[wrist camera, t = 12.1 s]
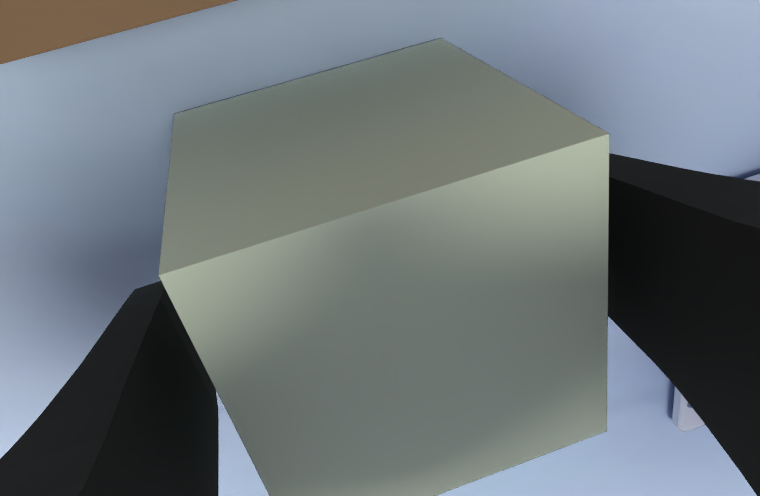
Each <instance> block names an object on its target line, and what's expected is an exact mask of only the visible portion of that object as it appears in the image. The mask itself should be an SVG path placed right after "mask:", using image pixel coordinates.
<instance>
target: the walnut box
mask: <svg viewBox="0 0 760 496" xmlns="http://www.w3.org/2000/svg"><path fill="white" fill-rule="evenodd" d="M233 1H237V0H0V64H3V63H7V62H11V61H14V60H18V59H22V58H25V57H29V56H33V55H37V54H40V53H44V52H48V51H51V50H55V49H59V48H62V47H66V46H70V45H74V44H77V43H81V42H85V41H88V40H92V39H96V38H99V37H103V36H107V35H111V34H114V33H118V32H122V31H125V30H129V29H133V28H137V27H140V26H144V25H148V24H151V23H155V22H159V21H162V20H166V19H170V18H174V17H177V16H181V15H185V14H188V13H192V12H196V11H199V10H203V9H207V8H211V7H214V6H218V5H222V4H225V3H229V2H233Z"/></svg>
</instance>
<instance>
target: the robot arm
mask: <svg viewBox="0 0 760 496" xmlns="http://www.w3.org/2000/svg"><path fill="white" fill-rule="evenodd" d="M608 316H609V317H610V318H611V319H612V320H613V321H614V322H615V323H616V324H617V325H618V326H619V327H620V329H621V330H622V331H623V332H624V333H625V334H626V335H627V336H628V337H629V338H630V339H631V340H632V341H633V342H634V343H635V344H636V345H637V346H638V347H639V348H640V349H641V350H642V351H643V352H644V353H645V354H646V355H647V356H648V357H649V358H650V359H651V360H652V361H653V362H654V363H655V364H656V365H657V366H658V367H659V368H660V369H661V371H662V372H663V373H664V374H665V375H666V376H667V377H668V378H669V379H670V381H671V382H672V383H673V384H674V385H675V394H674V404H673V415H672V421H673V423H674V424H675V425H676V427H677V428H678V429H679V430H681V431H689V430H692V429H695V428H698V427H700V426H703V425H706V426H707V427H708V429H709V430H710V431H711V433H712V434H713V435H714V437H715V438H716V439H717V441H718V442H719V443H720V445H721V446H722V447H723V449H724V450H725V451H726V453H727V454H728V455H729V457H730V458H731V459H732V461H733V462H734V463H735V465H736V466H737V467H738V469H739V470H740V472H741V473H742V474H743V476H744V477H745V479H746V480H747V482H748V483H749V485H750V486H751V487H752V489H753V490H754V492H755V493H756V495H757V496H760V174H757V175H754V176H751V177H748V178H745V179H740V178H734V177H728V176H722V175H715V174H709V173H704V172H699V171H693V170H688V169H683V168H678V167H673V166H668V165H663V164H658V163H654V162H649V161H644V160H639V159H635V158H630V157H625V156H620V155H615V154H610V153H609V222H608ZM0 496H218V405H217V397H216V389H215V387H214V385H213V383H212V381H211V379H210V377H209V375H208V373H207V371H206V369H205V367H204V365H203V363H202V361H201V359H200V357H199V355H198V353H197V351H196V349H195V347H194V345H193V343H192V341H191V339H190V337H189V335H188V333H187V331H186V329H185V327H184V325H183V323H182V321H181V319H180V317H179V315H178V313H177V311H176V309H175V307H174V305H173V303H172V301H171V299H170V297H169V295H168V293H167V291H166V289H165V287H164V285H163V283H162V281H160V282H156V283H153V284H150V285H147V286H144V287H141V288H138V289H135V290H134V291H133V293H132V294H131V295H130V296H129V298H128V299H127V300H126V302H125V303H124V304H123V306H122V307H121V308H120V310H119V311H118V313H117V314H116V316H115V317H114V318H113V320H112V321H111V323H110V324H109V326H108V327H107V328H106V330H105V331H104V333H103V334H102V335H101V337H100V338H99V340H98V341H97V342H96V344H95V345H94V347H93V348H92V349H91V351H90V352H89V353H88V355H87V356H86V358H85V359H84V360H83V362H82V363H81V365H80V366H79V367H78V369H77V370H76V371H75V372H74V374H73V375H72V376H71V377H70V379H69V380H68V381H67V382H66V384H65V385H64V386H63V387H62V389H61V390H60V391H59V392H58V394H57V395H56V396H55V398H54V399H53V400H52V401H51V403H50V404H49V405H48V406H47V408H46V409H45V410H44V411H43V413H42V414H41V415H40V416H39V417H38V418H37V420H36V421H35V422H34V423H33V424H32V425H31V427H30V428H29V429H28V430H27V431H26V432H25V433H24V434H23V436H22V437H21V438H20V439H19V440H18V441H17V442H16V443H15V444H14V445H13V446H12V447H11V448H10V449H9V451H8V452H7V453H6V454H5V455H4V456H3V457H2V458H1V459H0Z"/></svg>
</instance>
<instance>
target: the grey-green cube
mask: <svg viewBox="0 0 760 496" xmlns="http://www.w3.org/2000/svg"><path fill="white" fill-rule="evenodd" d="M608 222H609V133H607V132H606V131H604V130H602V129H600V128H599V127H597V126H595V125H593V124H592V123H590V122H588V121H586V120H584V119H583V118H581V117H579V116H577V115H576V114H574V113H572V112H570V111H569V110H567V109H565V108H563V107H562V106H560V105H558V104H556V103H555V102H553V101H551V100H549V99H548V98H546V97H544V96H542V95H541V94H539V93H537V92H535V91H533V90H532V89H530V88H528V87H526V86H525V85H523V84H521V83H519V82H518V81H516V80H514V79H512V78H511V77H509V76H507V75H505V74H504V73H502V72H500V71H498V70H497V69H495V68H493V67H491V66H490V65H488V64H486V63H484V62H483V61H481V60H479V59H477V58H475V57H474V56H472V55H470V54H468V53H467V52H465V51H463V50H461V49H460V48H458V47H456V46H454V45H453V44H451V43H449V42H447V41H446V40H444V39H442V38H440V39H436V40H433V41H429V42H426V43H422V44H419V45H415V46H411V47H408V48H404V49H401V50H397V51H394V52H390V53H387V54H383V55H380V56H376V57H373V58H369V59H366V60H362V61H359V62H355V63H352V64H348V65H345V66H341V67H338V68H334V69H331V70H327V71H324V72H320V73H316V74H313V75H309V76H306V77H302V78H299V79H295V80H292V81H288V82H285V83H281V84H278V85H274V86H271V87H267V88H264V89H260V90H257V91H253V92H250V93H246V94H243V95H239V96H236V97H232V98H229V99H225V100H222V101H218V102H214V103H211V104H207V105H204V106H200V107H197V108H193V109H190V110H186V111H183V112H179V113H176V114H174V120H173V130H172V141H171V151H170V162H169V172H168V182H167V193H166V203H165V213H164V224H163V234H162V245H161V255H160V265H159V277H160V279H161V281H162V283H163V285H164V287H165V289H166V291H167V293H168V295H169V297H170V299H171V301H172V303H173V305H174V307H175V309H176V311H177V313H178V315H179V317H180V319H181V321H182V323H183V325H184V327H185V329H186V331H187V333H188V335H189V337H190V339H191V341H192V343H193V345H194V347H195V349H196V351H197V353H198V355H199V357H200V359H201V361H202V363H203V365H204V367H205V369H206V371H207V373H208V375H209V377H210V379H211V381H212V383H213V385H214V387H215V389H216V390H217V392H218V394H219V396H220V398H221V400H222V402H223V404H224V406H225V408H226V410H227V412H228V414H229V416H230V418H231V420H232V422H233V424H234V426H235V428H236V430H237V432H238V434H239V436H240V438H241V440H242V442H243V444H244V446H245V448H246V450H247V452H248V454H249V456H250V458H251V460H252V462H253V464H254V466H255V468H256V470H257V472H258V474H259V476H260V478H261V480H262V482H263V484H264V486H265V488H266V490H267V492H268V494H269V496H436V495H439V494H441V493H444V492H447V491H449V490H452V489H455V488H457V487H460V486H463V485H465V484H468V483H470V482H473V481H476V480H478V479H481V478H484V477H486V476H489V475H492V474H494V473H497V472H500V471H502V470H505V469H508V468H510V467H513V466H516V465H518V464H521V463H524V462H526V461H529V460H531V459H534V458H537V457H539V456H542V455H545V454H547V453H550V452H553V451H555V450H558V449H561V448H563V447H566V446H569V445H571V444H574V443H577V442H579V441H582V440H584V439H587V438H590V437H592V436H595V435H598V434H600V433H603V432H606V431H607V332H608Z"/></svg>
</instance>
